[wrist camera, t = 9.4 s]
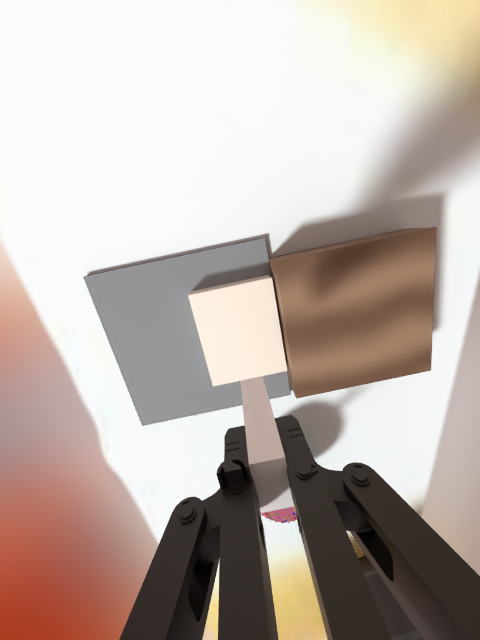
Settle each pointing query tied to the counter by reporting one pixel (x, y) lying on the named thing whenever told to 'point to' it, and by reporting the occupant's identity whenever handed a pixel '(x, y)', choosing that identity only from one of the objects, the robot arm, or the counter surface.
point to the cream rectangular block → (239, 329)
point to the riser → (356, 310)
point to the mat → (173, 329)
